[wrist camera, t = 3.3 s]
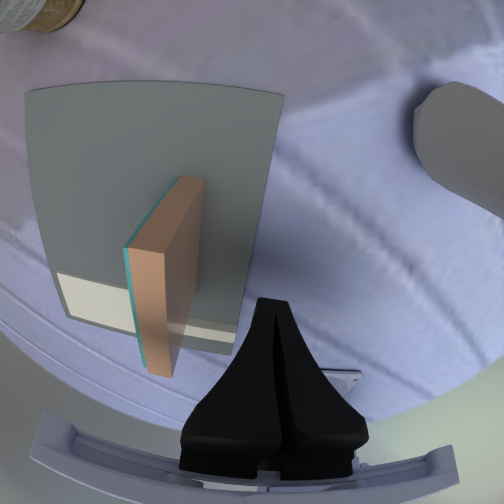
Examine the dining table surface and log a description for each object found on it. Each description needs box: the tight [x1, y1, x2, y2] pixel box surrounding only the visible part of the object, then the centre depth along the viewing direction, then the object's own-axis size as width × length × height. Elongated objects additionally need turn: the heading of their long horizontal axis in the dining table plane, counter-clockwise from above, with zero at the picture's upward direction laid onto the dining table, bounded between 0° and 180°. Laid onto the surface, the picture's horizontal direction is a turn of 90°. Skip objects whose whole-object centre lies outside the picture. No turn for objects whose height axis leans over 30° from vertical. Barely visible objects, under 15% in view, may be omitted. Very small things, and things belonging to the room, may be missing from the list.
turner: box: [57, 270, 237, 343], centre depth 21 cm, size 15×5×1 cm, turn 80°
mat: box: [25, 81, 284, 356], centre depth 18 cm, size 20×16×1 cm
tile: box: [123, 175, 205, 378], centre depth 14 cm, size 8×2×7 cm, turn 170°
